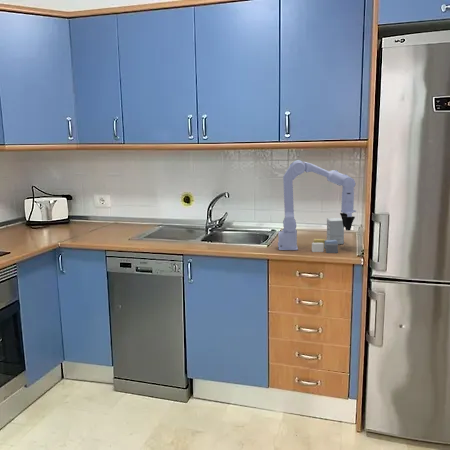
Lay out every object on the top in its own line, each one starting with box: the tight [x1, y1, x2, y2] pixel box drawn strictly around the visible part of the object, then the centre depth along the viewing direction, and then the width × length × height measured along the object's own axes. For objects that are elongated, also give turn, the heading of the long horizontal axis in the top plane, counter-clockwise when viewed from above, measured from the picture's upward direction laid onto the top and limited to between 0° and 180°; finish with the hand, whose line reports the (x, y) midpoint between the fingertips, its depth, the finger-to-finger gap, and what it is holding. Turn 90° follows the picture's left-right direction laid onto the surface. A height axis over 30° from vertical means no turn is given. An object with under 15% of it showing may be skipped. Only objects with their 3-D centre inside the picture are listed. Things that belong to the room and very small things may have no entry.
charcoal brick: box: [325, 244, 339, 254], centre depth 226 cm, size 6×3×4 cm, turn 84°
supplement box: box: [326, 217, 345, 245], centre depth 244 cm, size 7×7×13 cm
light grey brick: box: [311, 242, 325, 253], centre depth 229 cm, size 6×3×4 cm, turn 84°
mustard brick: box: [312, 238, 326, 245], centre depth 237 cm, size 6×3×4 cm, turn 84°
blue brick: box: [324, 239, 337, 250], centre depth 234 cm, size 6×3×4 cm, turn 104°
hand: (346, 228), depth 231 cm, fingers open, 7 cm apart
